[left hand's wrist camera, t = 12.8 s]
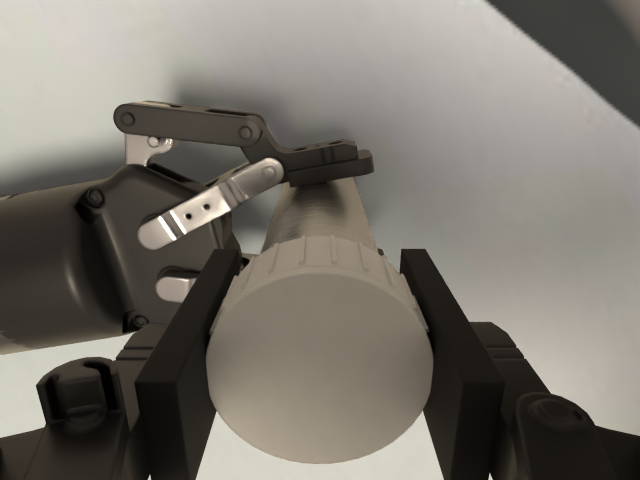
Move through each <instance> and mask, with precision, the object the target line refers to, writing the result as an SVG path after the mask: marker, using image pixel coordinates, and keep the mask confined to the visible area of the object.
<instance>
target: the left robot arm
mask: <svg viewBox="0 0 640 480" xmlns="http://www.w3.org/2000/svg"><path fill="white" fill-rule="evenodd" d="M239 274H240V268H239V253H238V249H214V251H213V252H212V254H211V256H210V257H209V259H208V261H207V262H206V264H205V266H204V267H203V269H202V271H201V272H200V274H199V276H198V277H197V279H196V280H195V282H194V284H193V285H192V287H191V289H190V290H189V292H188V294H187V295H186V297H185V299H184V300H183V302H182V304H181V305H180V307H179V309H178V310H177V312H176V314H175V315H174V317H173V319H172V320H171V322H170V323H149V324H147V325H146V326H144V327H143V328H141V329H140V330H138V331H137V332H135V333H134V334H133V335H132V336H131V338H130V339H129V340H128V342H127V343H126V344H125V346H124V349H123V350H121V351H120V353H119V354H118V356H117V357H116V361H112V360H111V359H107V358H102V357H86V358H82V359H78V360H73V361H70V362H68V363H65V364H63V365H61V366H58V367H56V368H54V369H53V370H52V371H50V372H49V373H47V374H46V375H44V376H43V377H42V379H41V380H40V381H39V382H38V383H37V385H36V388H37V391H38V395H39V399H40V402H41V406H42V410H43V414H44V417H45V421H46V425H45V427H44V428H41V429H37V430H34V431H29V432H25V433H21V434H16V435H12V436H7V437H3V438H0V480H148V477H149V475H151V480H195V479H196V476H197V473H198V470H199V466H200V463H201V460H202V457H203V453H204V450H205V447H206V444H207V440H208V437H209V434H210V431H211V427H212V424H213V421H214V417H215V414H216V411H217V410H216V408H215V406H214V404H213V402H212V400H211V398H210V395H209V387H208V377H207V368H206V351H207V347H208V344H209V341H210V337H211V335H210V334H209V332H210V329H211V327H212V324H213V322H214V320H215V317H216V315H217V313H218V311H219V308H220V306H221V304H222V301H223V299H224V298H225V297H226V294H227V292H228V290H229V287H230V285H231V283H232V280H233V278H234V276H235V275H236V276H239ZM400 274H403V275H404V276H405V279H406V281H407V284H408V286H409V288H410V291H411V293H412V295H414V296H415V298H416V301H417V303H418V305H419V308H420V310H421V312H422V315H423V317H424V319H425V322H426V324H427V326H428V329H429V332H427V335H428V338H429V340H430V343H431V347H432V351H433V357H434V362H433V373H432V382H431V391H430V395H429V397H428V400H427V403H426V405H425V406H424V408H423V412H424V416H425V419H426V422H427V425H428V429H429V432H430V435H431V438H432V442H433V445H434V448H435V452H436V455H437V458H438V461H439V465H440V468H441V471H442V474H443V478H444V480H488V478H489V473H490V474H491V476H492V479H493V480H640V436H637V435H632V434H628V433H623V432H619V431H615V430H610V429H606V428H602V427H599V426H595V424H594V422H593V421H592V419H591V418H590V416H589V415H588V414H587V412H585V411H584V410H583V409H582V408H580V407H579V406H578V405H577V404H575V403H573V402H571V401H569V400H567V399H565V398H563V397H561V396H557V395H554V394H551V393H550V392H549V390H548V389H547V387H546V386H545V385H544V383H543V382H542V381H541V379H540V378H539V376H538V375H537V374H536V372H535V371H534V369H533V368H532V367H531V365H530V364H529V363H528V361H527V360H526V359H524V356H523V354H522V353H521V352H520V350H519V349H518V348H516V345H515V343H514V342H513V340H512V339H511V338H510V336H509V335H508V334H507V333H506V332H505V331H503V330H502V329H501V328H499V327H498V326H496V325H495V324H493V323H492V322H469V321H468V319H467V318H466V316H465V314H464V313H463V311H462V309H461V308H460V306H459V304H458V303H457V301H456V300H455V298H454V296H453V295H452V293H451V291H450V290H449V288H448V286H447V285H446V283H445V281H444V280H443V278H442V276H441V275H440V273H439V271H438V270H437V268H436V266H435V265H434V263H433V261H432V260H431V258H430V256H429V255H428V253H427V251H426V250H425V249H401V262H400Z"/></svg>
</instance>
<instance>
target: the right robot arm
mask: <svg viewBox="0 0 640 480" xmlns="http://www.w3.org/2000/svg"><path fill="white" fill-rule="evenodd" d="M113 119H114V123H115V125H116V127H117V128H118V129H119V130H120V131H122V132H123V133H125V155H126V165H125V166H123V167H121V168H119V169H118V170H117V171H116V172H115V173H114V174H113V175H111V176H110V177H108V178H104V179H99V180H93V181H88V182H82V183H77V184H71V185H66V186H60V187H55V188H49V189H44V190H38V191H33V192H27V193H22V194H16V195H0V355H4V354H10V353H16V352H23V351H29V350H35V349H42V348H48V347H54V346H61V345H67V344H73V343H79V342H86V341H92V340H98V339H105V338H111V337H117V336H123V335H127V334H130V333H133V332H136V331H138V330H140V329H141V328H143V327H144V326H146V325H147V324H149V323H170V322H171V320H172V319H173V317H174V315H175V314H176V312H177V310H178V309H179V307H180V305H181V304H182V302H183V300H184V299H185V297H186V295H187V294H188V292H189V290H190V289H191V287H192V285H193V284H194V282H195V280H196V279H197V277H198V276H199V274H200V272H201V271H202V269H203V267H204V266H205V264H206V262H207V261H208V259H209V257H210V256H211V254H212V252H213V251H214V249H238V253H239V268H240V273H241V271H242V270H243V269H244V268H245V267H246V266H247V265H248V264H249V262H250V260H251V258H252V257H253V256H254V257H255V258H256V257H257V256H258V255H255V254H246V253H241V249H240V245H239V243H238V242H237V240H236V238H235V236H234V235H233V233H232V214H231V210H232V209H234V208H236V207H237V206H239V205H240V204H241V203H242V202H244V201H246V200H248V199H250V198H252V197H254V196H256V195H257V194H259V193H261V192H263V191H265V190H267V189H269V188H271V187H273V186H275V185H277V184H280V183H286V182H289V184H290V188H292V187H298V186H304V185H308V184H314V183H321V182H326V181H332V180H338V179H343V178H349V177H355V176H360V175H366V174H370V173H372V172H374V166H373V159H372V154H371V153H370V151H369V150H359V151H357V146H356V144H355V142H353V141H348V140H344V139H342V140H336V141H331V142H325V143H320V144H314V145H309V146H303V147H298V148H292V149H287V148H283V147H281V146H279V145H278V144H277V143H276V142H275V140H274V139H273V137H272V136H271V134H270V132H269V131H268V129H267V125H266V121H265V120H264V118H263V117H262V116H261V115H259V114H257V113H250V112H241V111H233V110H224V109H216V108H207V107H199V106H190V105H181V104H173V103H164V102H156V101H142V102H133V103H128V104H122V105H120V106H118V107H117V108H116V109H115V111H114V115H113ZM179 140H184V141H192V142H201V143H210V144H219V145H228V146H237V147H240V148H241V149H242V151H243V153H244V154H245V156H246V157H247V159H248V160H249V161H248V162H246V163H244V164H243V165H241V166H239V167H235V168H233V169H231V170H229V171H227V172H226V173H224V174H222V175H220V176H218V177H216V178H214V179H212V180H211V181H209V182H207V183H205V184H200V183H198V182H196V181H194V180H192V179H189V178H187V177H185V176H183V175H181V174H178V173H176V172H174V171H172V170H170V169H167V168H165V167H163V166H161V165H159V164H156V163H154V158H155V156H156V155H157V154H159V153H166V152H168V151H170V150H172V149H174V148H175V147H176V146H177V145H178V142H179ZM377 250H378V253H379V255H381V256H383V255H384V253H383V250H381V249H378V248H377Z"/></svg>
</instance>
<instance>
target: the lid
mask: <svg viewBox="0 0 640 480" xmlns="http://www.w3.org/2000/svg"><path fill="white" fill-rule="evenodd" d="M427 332H429V329H428V326H427V324H426V322H425V319H424V317H423V315H422V312H421V310H420V308H419V305H418V303H417V301H416V298H415V296H414V295H412V293H411V291H410V288H409V286H408V284H407V281H406V279H405V276H404V275H403V274H399V273H398V272H397V270H396V269H395V268H394V267H393V266H392V265H391V264H390V263H389V262H388V260H387V258H386V256H384V255H383V256H381V255H379V254H378V253H376V252H375V251H373V250H371V249H369V248H367V247H365V246H363V243H361V242H358V243H356V242H353V241H350V240H346V239H341V238H337V237H335V235H331V236H330V237H327V236H312V237H306V235H304V236H302V237H301V238H297V239H293V240H290V241H286V242H283V243H281V244H278V243H275V244H274V247H271V248H270V249H268V250H266V251H265V252H263V253H261V254H260V255H258V256H257V257H256V258H255V257H254V256H253V257H252V258H251V260H250V262H249V264H248V265H247V266H246V267H245V268H244V269H243V270H242V271H241V273H240V274H239V276H236V275H235V276H234V278H233V280H232V283H231V285H230V287H229V290H228V292H227V294H226V297H225V298H224V299H223V301H222V304H221V306H220V308H219V311H218V313H217V315H216V317H215V320H214V322H213V324H212V327H211V329H210V332H209V334H210V335H211V337H210V341H209V344H208V347H207V351H206V368H207V377H208V387H209V395H210V398H211V400H212V402H213V404H214V406H215V408H216V410H217V412H218V413H219V415H220V416H221V418H222V419H223V421H224V422H225V423H226V424H227V425H228V426H229V427H230V429H231V430H232V431H234V432H235V433H236V434H237V435H238V436H239V437H240V438H242V439H243V440H244V441H246V442H247V443H249V444H250V445H252V446H254V447H255V448H257V449H259V450H261V451H263V452H265V453H268V454H270V455H273V456H275V457H278V458H282V459H285V460H289V461H294V462H300V463H310V464H331V463H338V462H345V461H349V460H354V459H358V458H361V457H363V456H366V455H369V454H372V453H374V452H376V451H378V450H380V449H382V448H384V447H385V446H387V445H389V444H390V443H392V442H393V441H395V440H396V439H397V438H398V437H400V436H401V435H402V434H403V433H404V432H405V431H406V430H407V429H408V428H409V427H410V426H411V425H412V424H413V423H414V422H415V420H416V419H417V418H418V416H419V415H420V414H421V412H422V410H423V408H424V406H425V405H426V403H427V400H428V397H429V395H430V391H431V382H432V373H433V362H434V357H433V351H432V347H431V343H430V340H429V338H428V335H427Z"/></svg>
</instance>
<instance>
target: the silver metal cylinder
mask: <svg viewBox="0 0 640 480" xmlns="http://www.w3.org/2000/svg"><path fill="white" fill-rule="evenodd" d="M304 235H306V237H312V236H327V237H330V236H331V235H335V237H337V238H341V239H346V240H350V241H353V242H356V243H358V242H361V243H363V246H365V247H367V248H369V249H371V250H373V251H375V252H376V253H378V250H377V247H376V244H375V241H374V238H373V235H372V232H371V229H370V226H369V223H368V220H367V217H366V214H365V211H364V208H363V205H362V201H361V198H360V195H359V192H358V189H357V186H356V183H355V180H354V178H353V177H349V178H343V179H338V180H332V181H326V182H321V183H314V184H308V185H304V186H298V187H292V188H290V184H289V182H286V183H284V184H283V187H282V190H281V193H280V196H279V199H278V202H277V205H276V208H275V211H274V214H273V217H272V220H271V223H270V226H269V229H268V232H267V235H266V238H265V241H264V244H263V247H262V250H261V253H263V252H265V251H266V250H268V249H270V248H271V247H274V244H275V243H278V244H281V243H283V242H286V241H290V240H293V239H297V238H301V237H302V236H304ZM261 253H260V254H261ZM378 254H379V253H378Z"/></svg>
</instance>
